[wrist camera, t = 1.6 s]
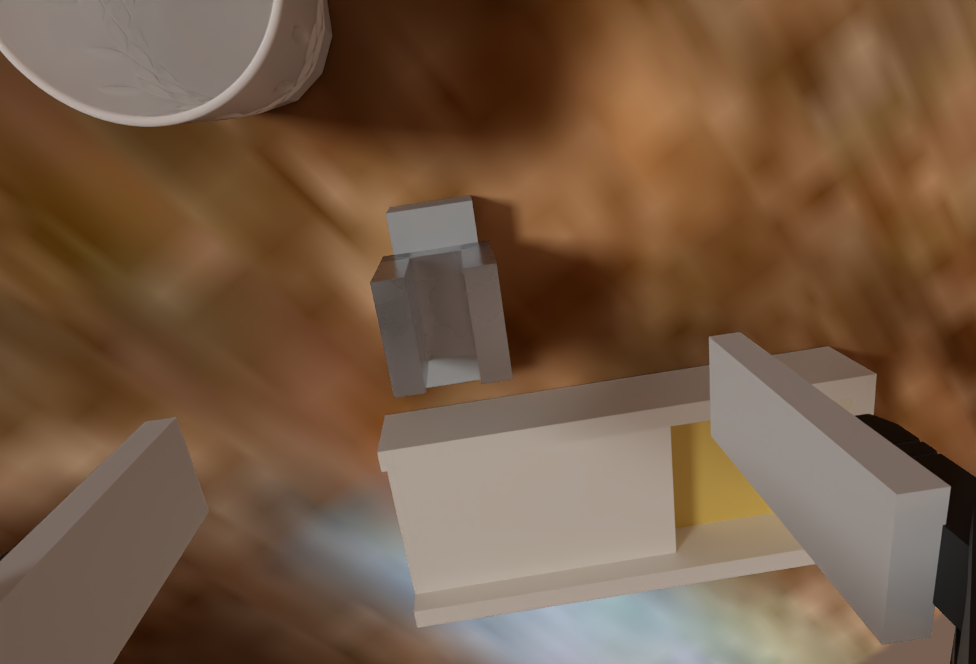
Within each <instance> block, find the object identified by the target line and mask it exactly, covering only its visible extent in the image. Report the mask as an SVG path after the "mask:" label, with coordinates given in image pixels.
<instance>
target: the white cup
mask: <svg viewBox="0 0 976 664" xmlns="http://www.w3.org/2000/svg"><path fill="white" fill-rule="evenodd" d="M332 36H333V34H332V28H331V21H330V15H329V9H328V2H327V0H0V51H1V52H2V53H3V54H4V55H5V56H6V58H7V59H8V60H9V61H10V62H11V63H12V64H13V65H14V66H15V67H16V68H17V69H18V70H19V71H20V72H21V73H22V74H24V75H25V76H26V77H27V78H28V79H29V80H31V81H32V82H33V83H34V84H36V85H37V86H38V87H39V88H41V89H42V90H44V91H45V92H46V93H48V94H49V95H51V96H53V97H54V98H56V99H57V100H59V101H61V102H62V103H64V104H66V105H68V106H70V107H72V108H74V109H76V110H78V111H80V112H83V113H85V114H88V115H90V116H93V117H96V118H99V119H102V120H105V121H109V122H113V123H118V124H123V125H130V126H142V127H157V126H168V125H177V124H187V123H197V122H207V121H218V120H227V119H233V118H239V117H245V116H251V115H255V114H259V113H264V112H267V111H270V110H273V109H275V108H278V107H281V106H284V105H287V104H290V103H293V102H296V101H298V100H299V99H300V98H301V97H302V96H303V94H304V93H305V92H306V91H307V90H308V89H309V88H310V87H311V86H312V84H313V83H314V82H315V81H316V80H317V79H318V78H319V77H320V76H321V75H322V73H323V70H324V66H325V62H326V58H327V55H328V51H329V47H330V44H331V40H332Z"/></svg>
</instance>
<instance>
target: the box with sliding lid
mask: <svg viewBox="0 0 976 664" xmlns="http://www.w3.org/2000/svg"><path fill="white" fill-rule="evenodd" d="M772 356H773V357H775V358H776V359H777V360H779V361H780V362H781V363H783V364H784V365H786V366H787V367H788V368H790V369H791V370H792V371H794V372H795V373H796V374H798V375H799V376H801V377H802V378H803V379H805V380H806V381H807V382H809V383H810V384H812V385H813V386H814V387H816V388H817V389H818V390H820V391H821V392H822V393H824V394H825V395H827V396H828V397H829V398H831V399H832V400H833V401H835V402H836V403H837V404H839V405H840V406H842V407H843V408H844V409H846V410H847V411H848V412H850V413H851V414H853V415H854V416H856V415H863V414H872V415H874V404H875V391H876V378H877V374H876V373H874V372H872V371H871V370H869V369H867V368H865V367H864V366H862V365H860V364H859V363H857V362H855V361H853V360H852V359H850V358H848V357H846V356H845V355H843V354H841V353H840V352H838V351H836V350H834V349H833V348H831V347H829V346H827V347H821V348H814V349H808V350H802V351H795V352H789V353H782V354H776V355H772ZM377 454H378V459H379V463H380V467H381V472H384V471H387V472H388V477H389V481H390V486H391V490H392V494H393V499H394V503H395V508H396V512H397V516H398V521H399V525H400V530H401V534H402V538H403V543H404V547H405V552H406V556H407V561H408V565H409V569H410V574H411V578H412V583H413V587H414V591H415V603H414V615H415V619H416V624H417V628H419V627H426V626H432V625H438V624H444V623H451V622H457V621H463V620H469V619H475V618H482V617H488V616H494V615H500V614H507V613H513V612H519V611H525V610H531V609H538V608H544V607H550V606H556V605H563V604H569V603H575V602H581V601H588V600H594V599H600V598H606V597H612V596H619V595H625V594H631V593H637V592H644V591H650V590H656V589H662V588H668V587H675V586H681V585H687V584H693V583H700V582H706V581H712V580H718V579H724V578H731V577H737V576H743V575H749V574H756V573H762V572H768V571H774V570H781V569H787V568H793V567H799V566H805V565H812V564H816V563H815V562H814V561H813V560H812V559H811V557H810V556H809V555H808V554H807V552H806V551H805V550H804V549H803V548H802V546H801V545H800V544H799V543H798V541H797V540H796V539H795V538H794V537H793V535H792V534H791V533H790V532H789V531H788V529H787V528H786V527H785V526H784V524H783V523H782V522H781V521H780V520H779V518H778V517H777V516H776V515H775V513H774V512H773V511H772V510H771V509H770V507H769V506H768V505H767V504H766V502H765V501H764V500H763V499H762V498H761V496H760V495H759V494H758V493H757V491H756V490H755V489H754V488H753V487H752V485H751V484H750V483H749V482H748V480H747V479H746V478H745V477H744V476H743V474H742V473H741V472H740V471H739V469H738V468H737V467H736V466H735V465H734V463H733V462H732V461H731V460H730V459H729V457H728V456H727V455H726V454H725V452H724V451H723V450H722V449H721V448H720V446H719V445H718V444H717V443H716V441H715V440H714V439H713V438H712V437H711V417H710V368H709V365H705V366H699V367H693V368H686V369H680V370H673V371H667V372H661V373H654V374H648V375H641V376H635V377H628V378H622V379H616V380H609V381H603V382H596V383H590V384H584V385H577V386H571V387H564V388H558V389H552V390H545V391H539V392H532V393H526V394H519V395H513V396H507V397H500V398H494V399H487V400H481V401H475V402H468V403H462V404H455V405H449V406H443V407H436V408H430V409H423V410H417V411H410V412H404V413H398V414H391V415H385V418H384V423H383V427H382V432H381V437H380V441H379V446H378V450H377Z"/></svg>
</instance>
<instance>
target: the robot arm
mask: <svg viewBox="0 0 976 664" xmlns="http://www.w3.org/2000/svg"><path fill="white" fill-rule="evenodd" d="M709 368H710V417H711V437H712V438H713V439H714V440H715V441H716V443H717V444H718V445H719V446H720V448H721V449H722V450H723V451H724V452H725V454H726V455H727V456H728V457H729V459H730V460H731V461H732V462H733V463H734V465H735V466H736V467H737V468H738V469H739V471H740V472H741V473H742V474H743V476H744V477H745V478H746V479H747V480H748V482H749V483H750V484H751V485H752V487H753V488H754V489H755V490H756V491H757V493H758V494H759V495H760V496H761V498H762V499H763V500H764V501H765V502H766V504H767V505H768V506H769V507H770V509H771V510H772V511H773V512H774V513H775V515H776V516H777V517H778V518H779V520H780V521H781V522H782V523H783V524H784V526H785V527H786V528H787V529H788V531H789V532H790V533H791V534H792V535H793V537H794V538H795V539H796V540H797V541H798V543H799V544H800V545H801V546H802V548H803V549H804V550H805V551H806V552H807V554H808V555H809V556H810V557H811V559H812V560H813V561H814V562H815V563H816V565H817V566H818V567H819V568H820V570H821V571H822V572H823V573H824V574H825V576H826V577H827V578H828V579H829V581H830V582H831V583H832V584H833V585H834V587H835V588H836V589H837V590H838V592H839V593H840V594H841V595H842V596H843V598H844V599H845V600H846V601H847V603H848V604H849V605H850V606H851V607H852V609H853V610H854V611H855V612H856V613H857V615H858V616H859V617H860V618H861V620H862V621H863V622H864V623H865V624H866V626H867V627H868V628H869V629H870V631H871V632H872V633H873V634H874V635H875V637H876V638H877V639H878V640H879V642H880V643H881V644H882V645H883V644H890V643H896V642H903V641H909V640H916V639H923V638H929V637H931V632H932V624H933V617H934V609H935V606H936V607H937V608H938V609H939V610H940V611H941V612H942V613H943V614H944V615H945V616H946V617H947V618H948V619H949V620H950V621H951V622H952V623H953V624H954V625H955V626H956V627H955V634H954V641H953V648H952V654H951V661H950V664H976V477H974V476H973V475H971V474H970V473H969V472H967V471H966V470H964V469H963V468H961V467H960V466H958V465H957V464H955V463H954V462H952V461H951V460H949V459H948V458H946V457H945V456H944V455H942V454H937V451H936V450H935V449H933V448H932V447H930V446H929V445H927V444H926V443H924V442H920V441H919V439H918V438H917V437H916V436H914V435H913V434H911V433H910V432H908V431H907V430H905V429H904V428H902V427H901V426H899V425H898V424H895V423H893V422H890V421H887V420H885V419H882V418H879V417H877V416H874V415H872V414H863V415H856V416H854V415H853V414H851V413H850V412H848V411H847V410H846V409H844V408H843V407H842V406H840V405H839V404H837V403H836V402H835V401H833V400H832V399H831V398H829V397H828V396H827V395H825V394H824V393H822V392H821V391H820V390H818V389H817V388H816V387H814V386H813V385H812V384H810V383H809V382H807V381H806V380H805V379H803V378H802V377H801V376H799V375H798V374H796V373H795V372H794V371H792V370H791V369H790V368H788V367H787V366H786V365H784V364H783V363H781V362H780V361H779V360H777V359H776V358H775V357H773V356H772V355H771V354H769V353H768V352H766V351H765V350H764V349H762V348H761V347H760V346H758V345H757V344H756V343H754V342H753V341H751V340H750V339H749V338H747V337H746V336H745V335H743V334H742V333H740V332H737V333H730V334H724V335H717V336H710V337H709ZM208 513H209V509H208V506H207V503H206V500H205V497H204V495H203V492H202V489H201V486H200V483H199V480H198V477H197V475H196V472H195V469H194V466H193V463H192V460H191V457H190V455H189V452H188V449H187V446H186V443H185V440H184V437H183V435H182V432H181V429H180V426H179V423H178V420H177V417H173V418H167V419H160V420H153V421H147V422H144V423H143V424H142V425H141V426H140V427H139V428H138V429H137V430H136V431H135V432H134V433H133V434H132V435H131V436H130V437H129V438H128V439H127V440H126V441H125V442H124V443H123V444H122V445H121V446H119V447H118V448H117V449H116V450H115V451H114V452H113V453H112V454H111V455H110V456H109V457H108V458H107V459H106V460H105V461H104V462H103V463H102V464H101V465H100V466H99V467H98V468H97V469H96V470H95V471H93V472H92V473H91V474H90V475H89V476H88V477H87V478H86V479H85V480H84V481H83V482H82V483H81V484H80V485H79V486H78V487H77V488H76V489H75V490H74V491H73V492H72V493H71V494H70V495H69V496H67V497H66V498H65V499H64V500H63V501H62V502H61V503H60V504H59V505H58V506H57V507H56V508H55V509H54V510H53V511H52V512H51V513H50V514H49V515H48V516H47V517H46V518H45V519H44V520H43V521H41V522H40V523H39V524H38V525H37V526H36V527H35V528H34V529H33V530H32V531H31V532H30V533H29V534H28V535H27V536H26V537H25V538H24V539H23V540H22V541H21V542H20V543H19V544H18V545H17V546H15V547H14V548H13V549H12V550H10V551H9V552H7V553H6V554H4V555H3V556H1V557H0V664H113V663H114V662H115V660H116V658H117V657H118V655H119V654H120V652H121V650H122V649H123V647H124V646H125V644H126V643H127V641H128V639H129V638H130V636H131V635H132V633H133V632H134V630H135V628H136V627H137V625H138V624H139V622H140V620H141V619H142V617H143V616H144V614H145V613H146V611H147V609H148V608H149V606H150V605H151V603H152V602H153V600H154V598H155V597H156V595H157V594H158V592H159V590H160V589H161V587H162V586H163V584H164V583H165V581H166V579H167V578H168V576H169V575H170V573H171V572H172V570H173V568H174V567H175V565H176V564H177V562H178V560H179V559H180V557H181V556H182V554H183V553H184V551H185V549H186V548H187V546H188V545H189V543H190V542H191V540H192V538H193V537H194V535H195V534H196V532H197V530H198V529H199V527H200V526H201V524H202V523H203V521H204V519H205V518H206V516H207V515H208Z"/></svg>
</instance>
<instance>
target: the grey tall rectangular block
mask: <svg viewBox="0 0 976 664" xmlns="http://www.w3.org/2000/svg"><path fill="white" fill-rule="evenodd" d="M386 218H387V223H388V228H389V233H390V238H391V243H392V248H393V254H394V255H397V254H403V253H410V252H416V251H423V250H430V249H436V248H443V247H449V246H456V245H462V244H469V243H475V242H478V238H477V231H476V225H475V218H474V211H473V204H472V199H471V196H470V195H469V196H462V197H456V198H449V199H442V200H436V201H429V202H423V203H416V204H409V205H403V206H396V207H390V208H389V210H388V211H387V212H386ZM473 380H480V373H479V366H478V360H477V354H476V353H475V354H469V355H462V356H456V357H449V358H443V359H436V360H430V361H429V365H428V377H427V388H428V387H435V386H441V385H448V384H454V383H461V382H467V381H473Z"/></svg>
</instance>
